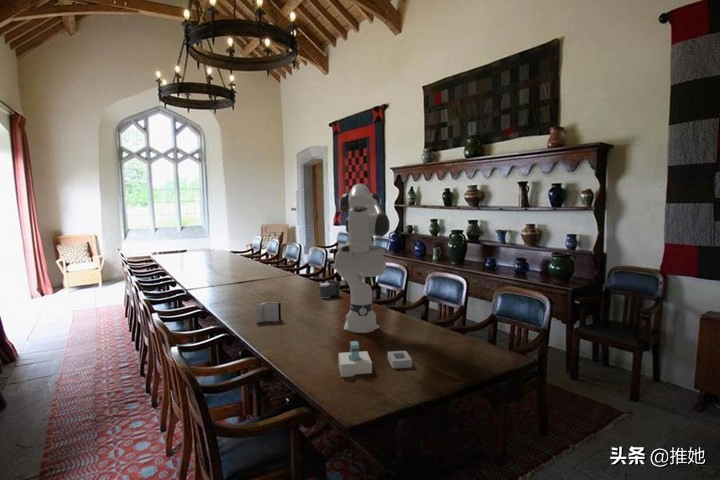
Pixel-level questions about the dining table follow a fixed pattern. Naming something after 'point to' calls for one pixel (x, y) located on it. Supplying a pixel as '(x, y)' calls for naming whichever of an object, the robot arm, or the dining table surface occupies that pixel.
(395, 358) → the holster
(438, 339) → the dining table surface
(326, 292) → the dark grey block
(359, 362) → the port block
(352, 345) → the plug
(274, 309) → the hinge
